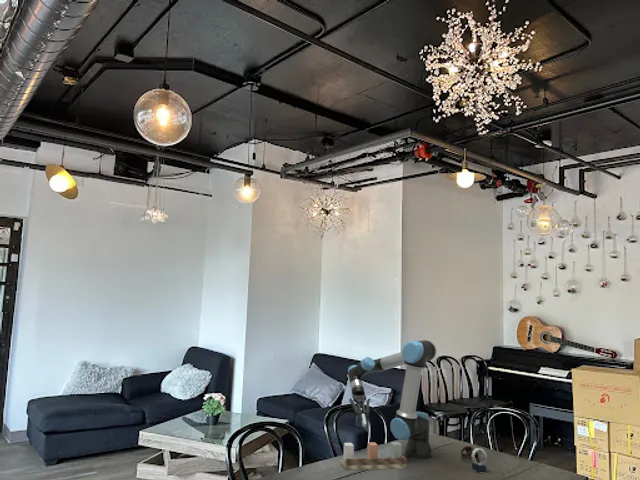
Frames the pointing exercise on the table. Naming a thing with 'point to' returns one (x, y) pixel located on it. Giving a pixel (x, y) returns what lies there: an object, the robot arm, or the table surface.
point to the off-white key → (348, 451)
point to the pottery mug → (468, 452)
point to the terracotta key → (372, 450)
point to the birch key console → (374, 463)
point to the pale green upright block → (395, 450)
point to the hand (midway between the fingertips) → (364, 425)
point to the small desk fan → (479, 466)
